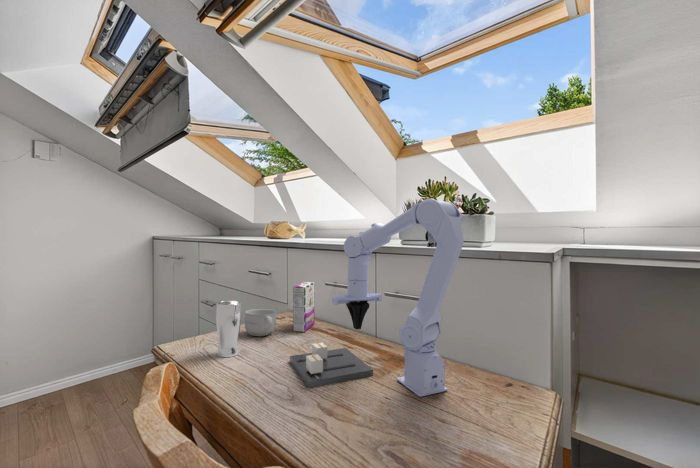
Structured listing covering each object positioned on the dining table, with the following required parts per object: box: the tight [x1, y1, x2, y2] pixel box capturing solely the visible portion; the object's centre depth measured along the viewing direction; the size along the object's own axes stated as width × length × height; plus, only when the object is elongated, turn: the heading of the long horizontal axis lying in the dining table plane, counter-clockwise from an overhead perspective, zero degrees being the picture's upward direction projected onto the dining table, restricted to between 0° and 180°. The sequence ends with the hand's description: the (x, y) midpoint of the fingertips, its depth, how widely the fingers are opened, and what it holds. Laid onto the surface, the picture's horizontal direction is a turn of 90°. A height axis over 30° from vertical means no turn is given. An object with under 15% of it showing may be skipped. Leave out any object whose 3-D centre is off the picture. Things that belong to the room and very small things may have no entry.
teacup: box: [244, 308, 278, 337], centre depth 116 cm, size 14×11×8 cm
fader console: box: [289, 347, 374, 389], centre depth 89 cm, size 17×17×2 cm
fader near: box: [306, 354, 323, 374], centre depth 83 cm, size 4×3×3 cm
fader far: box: [311, 341, 328, 359], centre depth 92 cm, size 4×3×3 cm
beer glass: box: [215, 299, 242, 359], centre depth 98 cm, size 7×7×15 cm
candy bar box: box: [292, 281, 315, 333], centre depth 125 cm, size 11×5×16 cm, turn 168°
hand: (357, 328), depth 93 cm, fingers closed
